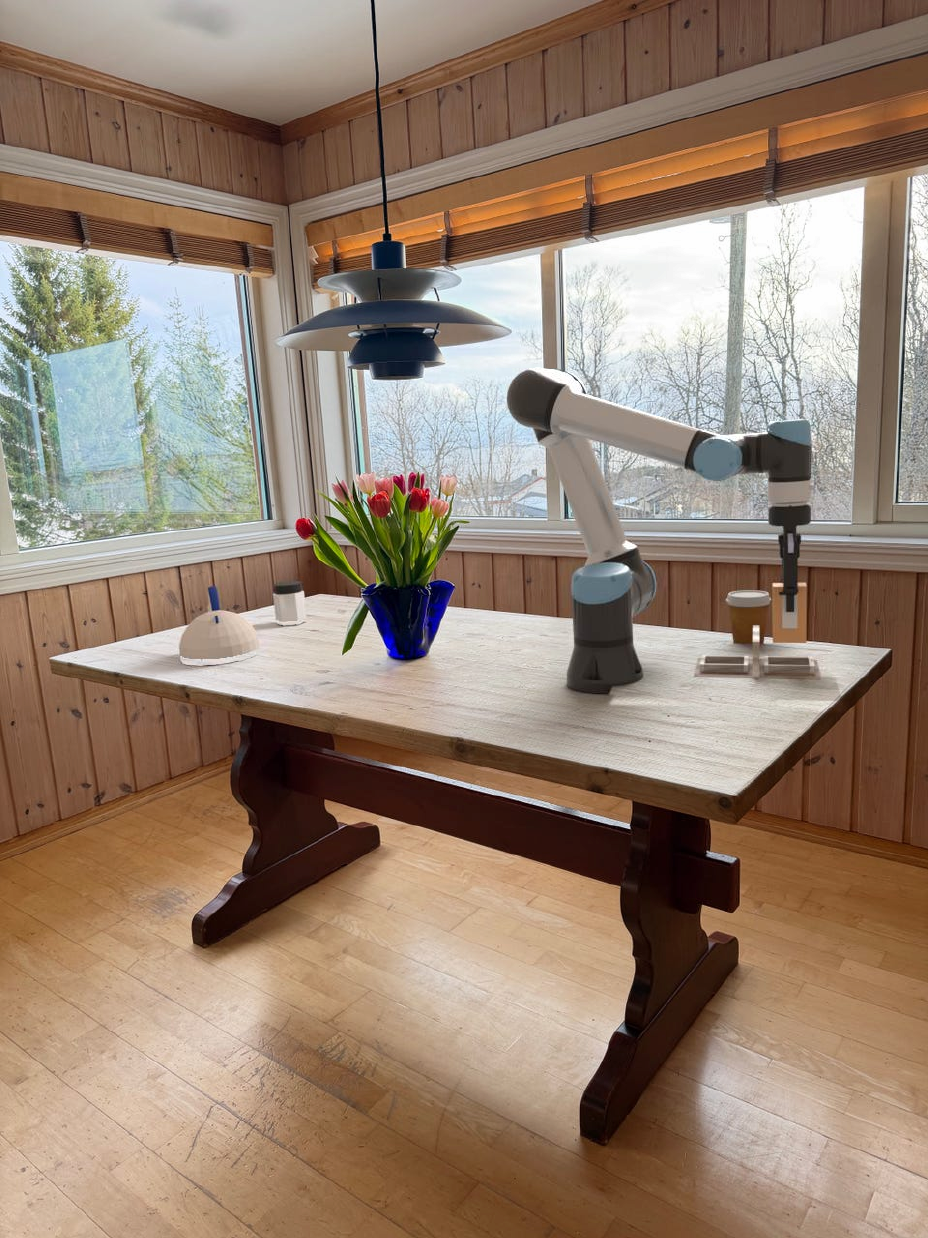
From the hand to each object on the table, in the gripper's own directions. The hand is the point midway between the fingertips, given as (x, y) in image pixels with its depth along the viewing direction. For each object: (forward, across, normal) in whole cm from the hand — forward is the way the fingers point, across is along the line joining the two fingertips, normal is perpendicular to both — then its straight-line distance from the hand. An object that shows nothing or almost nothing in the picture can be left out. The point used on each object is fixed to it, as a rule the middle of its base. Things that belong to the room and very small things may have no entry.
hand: (789, 624), depth 168 cm
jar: (+10, +46, +136) cm, 144 cm away
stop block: (+3, 0, 0) cm, 3 cm away
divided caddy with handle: (+10, 0, +6) cm, 12 cm away
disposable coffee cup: (+10, +23, +8) cm, 27 cm away
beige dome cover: (+10, +8, +135) cm, 136 cm away
